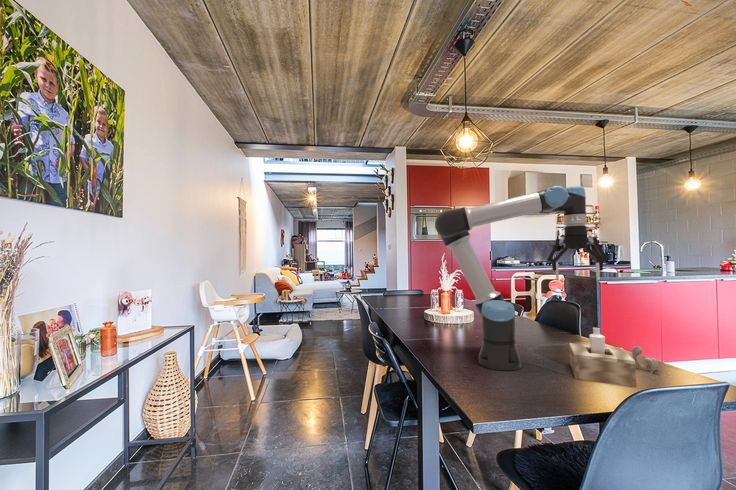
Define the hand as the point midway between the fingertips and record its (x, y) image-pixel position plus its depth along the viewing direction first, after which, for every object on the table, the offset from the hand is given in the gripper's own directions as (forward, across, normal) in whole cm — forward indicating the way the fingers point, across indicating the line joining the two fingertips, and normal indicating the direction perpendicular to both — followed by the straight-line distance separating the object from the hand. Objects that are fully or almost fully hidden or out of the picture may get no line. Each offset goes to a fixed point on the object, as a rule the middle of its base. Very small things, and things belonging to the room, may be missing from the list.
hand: (577, 279), depth 127 cm
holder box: (+32, +4, -15) cm, 35 cm away
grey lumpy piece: (+32, +20, -3) cm, 38 cm away
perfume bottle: (+31, +4, -15) cm, 35 cm away
